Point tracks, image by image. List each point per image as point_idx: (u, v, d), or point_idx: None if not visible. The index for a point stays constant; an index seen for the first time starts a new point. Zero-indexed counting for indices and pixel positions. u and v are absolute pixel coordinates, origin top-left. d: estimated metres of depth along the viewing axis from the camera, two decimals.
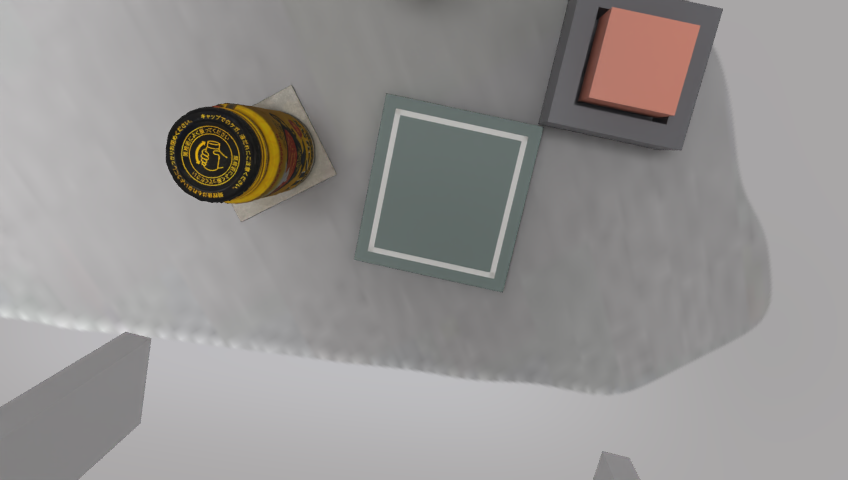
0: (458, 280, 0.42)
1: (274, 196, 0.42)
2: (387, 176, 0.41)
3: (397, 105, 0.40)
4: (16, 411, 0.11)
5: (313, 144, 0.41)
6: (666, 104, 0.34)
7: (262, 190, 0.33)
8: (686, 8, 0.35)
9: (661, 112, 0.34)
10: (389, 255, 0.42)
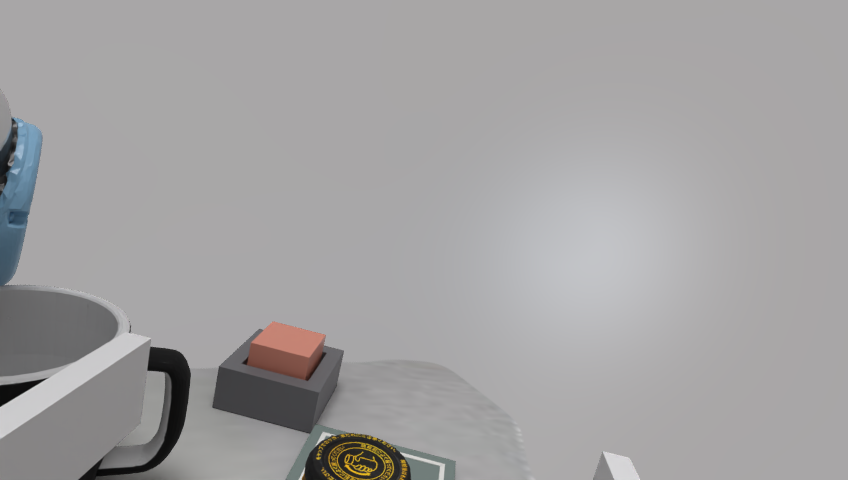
0: None
1: None
2: None
3: None
4: (16, 411, 0.11)
5: None
6: (318, 336, 0.53)
7: None
8: (254, 337, 0.54)
9: (323, 338, 0.53)
10: None
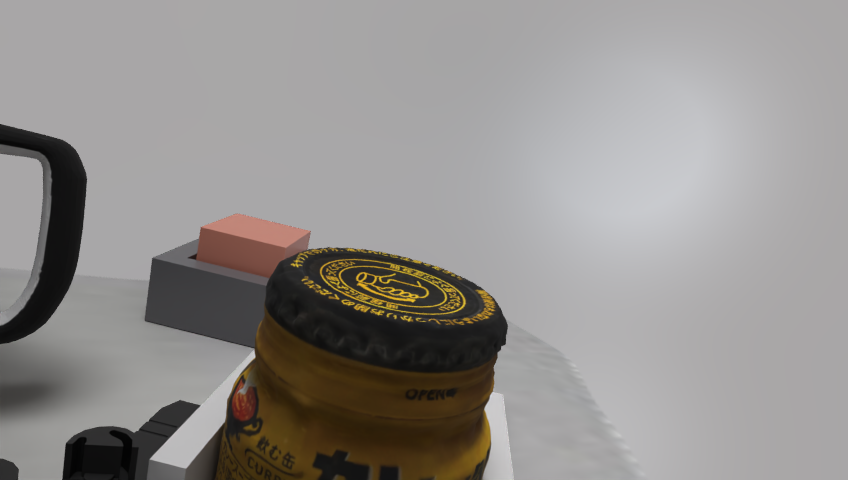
0: None
1: None
2: None
3: None
4: (218, 406, 0.13)
5: None
6: (300, 231, 0.38)
7: None
8: None
9: (306, 234, 0.38)
10: None
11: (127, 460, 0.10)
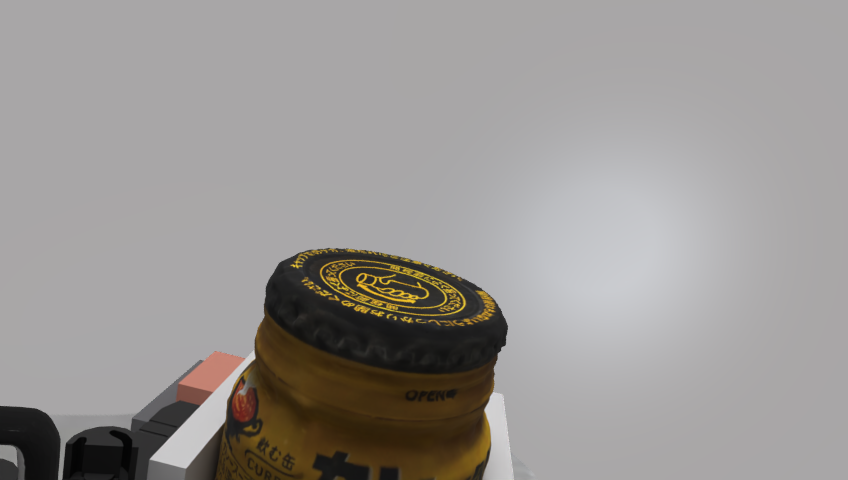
0: None
1: None
2: None
3: None
4: (218, 406, 0.13)
5: None
6: None
7: None
8: None
9: None
10: None
11: (127, 460, 0.10)
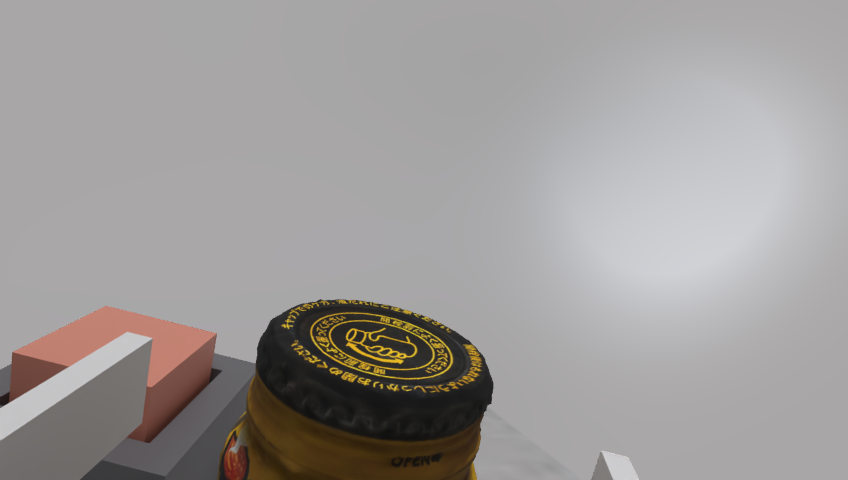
0: None
1: None
2: None
3: None
4: (19, 411, 0.11)
5: None
6: (198, 336, 0.25)
7: None
8: None
9: (208, 341, 0.25)
10: None
11: None
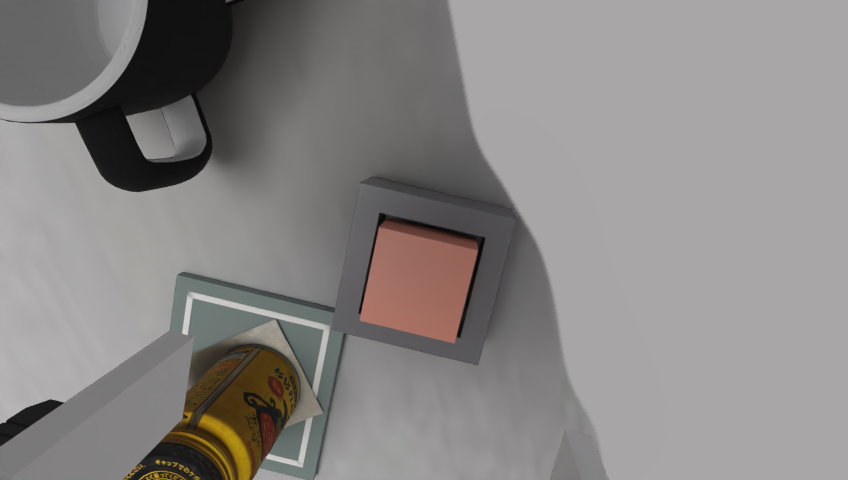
0: (265, 467, 0.39)
1: None
2: None
3: (189, 288, 0.36)
4: (81, 405, 0.12)
5: (298, 381, 0.37)
6: (444, 331, 0.30)
7: None
8: (476, 218, 0.31)
9: (440, 338, 0.30)
10: None
11: None
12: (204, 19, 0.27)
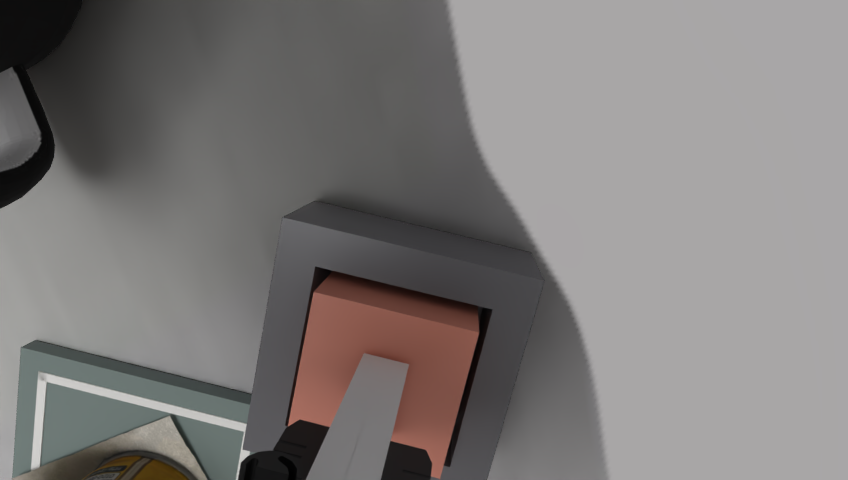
0: None
1: None
2: None
3: (40, 366, 0.24)
4: (345, 426, 0.13)
5: None
6: None
7: None
8: (477, 277, 0.18)
9: None
10: None
11: None
12: None
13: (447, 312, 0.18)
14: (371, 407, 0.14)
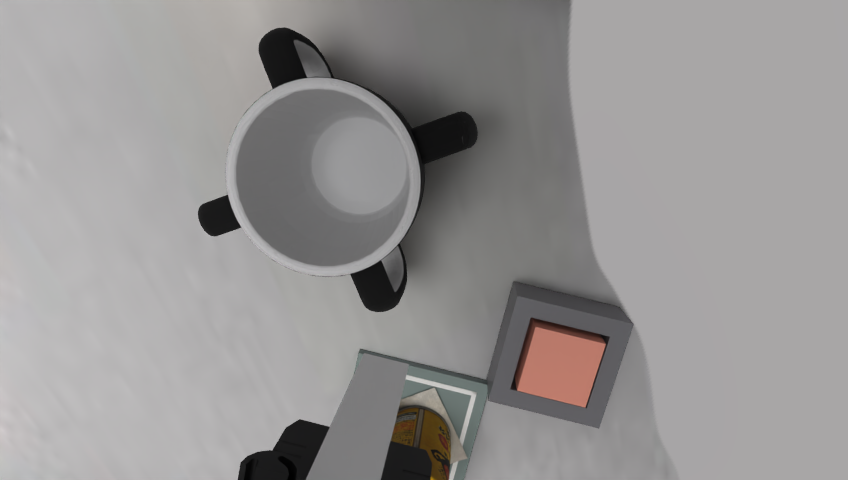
0: None
1: None
2: None
3: None
4: (345, 426, 0.13)
5: (449, 434, 0.48)
6: (578, 399, 0.42)
7: None
8: (603, 322, 0.42)
9: (575, 404, 0.43)
10: None
11: None
12: None
13: (588, 335, 0.42)
14: (371, 407, 0.14)
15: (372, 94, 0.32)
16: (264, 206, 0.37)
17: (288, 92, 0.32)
